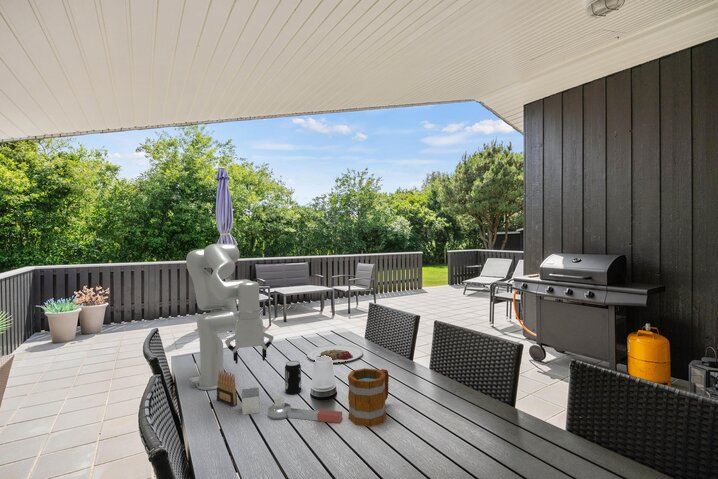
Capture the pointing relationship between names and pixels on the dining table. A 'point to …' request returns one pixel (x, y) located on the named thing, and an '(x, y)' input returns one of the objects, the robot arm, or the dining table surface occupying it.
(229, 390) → the ammunition clip
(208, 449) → the dining table surface
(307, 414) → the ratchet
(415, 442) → the dining table surface
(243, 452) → the dining table surface
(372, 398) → the mug
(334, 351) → the plated food
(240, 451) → the dining table surface
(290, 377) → the beverage can
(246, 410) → the brushed metal block
